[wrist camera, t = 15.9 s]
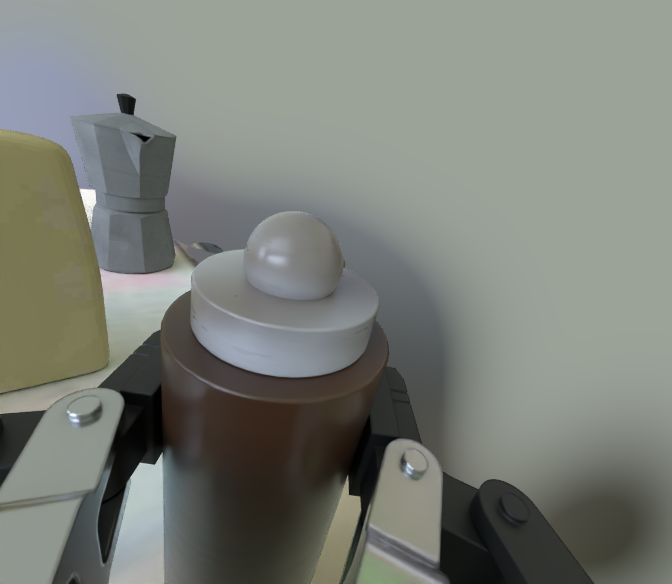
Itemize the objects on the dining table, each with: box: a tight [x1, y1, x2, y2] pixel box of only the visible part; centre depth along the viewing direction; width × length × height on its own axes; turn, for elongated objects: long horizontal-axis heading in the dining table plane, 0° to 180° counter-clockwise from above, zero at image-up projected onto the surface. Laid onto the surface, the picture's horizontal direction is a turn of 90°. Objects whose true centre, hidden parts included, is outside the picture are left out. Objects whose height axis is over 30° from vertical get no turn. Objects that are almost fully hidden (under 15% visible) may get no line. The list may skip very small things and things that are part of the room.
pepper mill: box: [161, 211, 389, 584], centre depth 9 cm, size 5×5×16 cm
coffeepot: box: [70, 94, 176, 274], centre depth 36 cm, size 15×9×18 cm, turn 41°
